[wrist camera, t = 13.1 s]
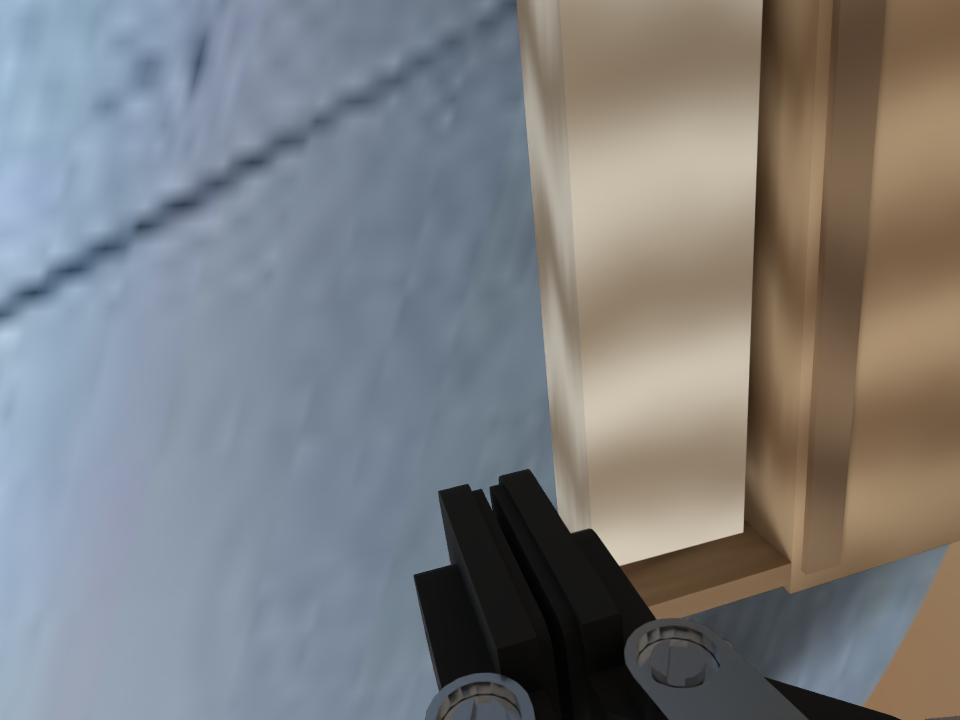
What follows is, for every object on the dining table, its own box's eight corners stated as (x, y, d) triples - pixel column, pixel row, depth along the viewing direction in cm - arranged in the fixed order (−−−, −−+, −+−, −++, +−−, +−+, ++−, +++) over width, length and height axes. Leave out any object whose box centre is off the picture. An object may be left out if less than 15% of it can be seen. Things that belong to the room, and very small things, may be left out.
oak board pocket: (415, -144, 19) (448, -204, 16) (956, -187, 23) (1095, -245, 19) (517, 598, 29) (553, 675, 25) (884, 491, 33) (965, 544, 29)
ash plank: (509, -42, 21) (554, -70, 18) (688, -58, 22) (765, -87, 19) (555, 512, 29) (594, 572, 25) (687, 479, 30) (743, 532, 26)
